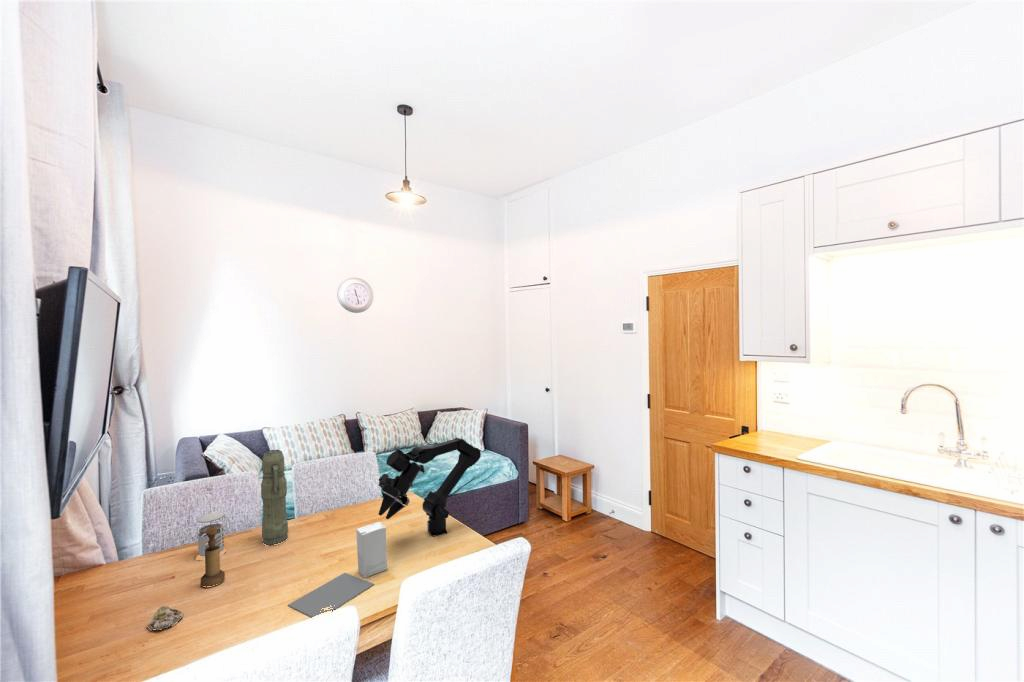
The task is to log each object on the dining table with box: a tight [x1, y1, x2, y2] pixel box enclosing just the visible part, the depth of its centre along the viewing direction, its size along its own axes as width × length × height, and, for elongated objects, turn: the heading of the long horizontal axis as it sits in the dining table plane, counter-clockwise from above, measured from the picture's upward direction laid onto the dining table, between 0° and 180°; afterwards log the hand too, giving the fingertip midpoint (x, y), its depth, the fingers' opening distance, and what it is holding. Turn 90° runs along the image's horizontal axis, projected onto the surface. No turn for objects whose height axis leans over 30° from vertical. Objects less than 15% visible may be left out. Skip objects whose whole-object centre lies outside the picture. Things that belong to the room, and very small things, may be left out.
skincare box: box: [355, 521, 388, 579], centre depth 146 cm, size 8×6×15 cm
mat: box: [287, 572, 375, 618], centre depth 133 cm, size 20×14×1 cm
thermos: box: [260, 449, 289, 546], centre depth 170 cm, size 9×12×35 cm
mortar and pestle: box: [200, 527, 226, 587], centre depth 141 cm, size 7×6×18 cm
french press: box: [196, 485, 231, 556], centre depth 162 cm, size 10×12×25 cm
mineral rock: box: [146, 605, 185, 630], centre depth 122 cm, size 11×4×8 cm
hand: (383, 517), depth 159 cm, fingers open, 9 cm apart
